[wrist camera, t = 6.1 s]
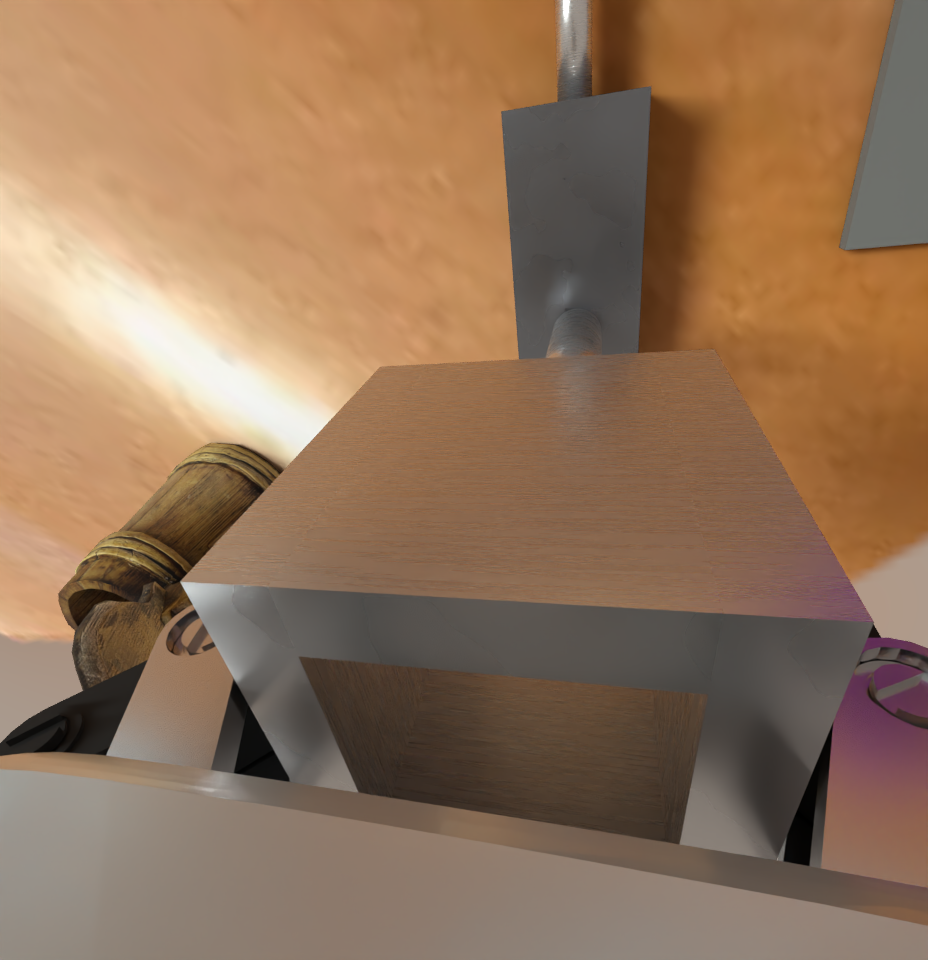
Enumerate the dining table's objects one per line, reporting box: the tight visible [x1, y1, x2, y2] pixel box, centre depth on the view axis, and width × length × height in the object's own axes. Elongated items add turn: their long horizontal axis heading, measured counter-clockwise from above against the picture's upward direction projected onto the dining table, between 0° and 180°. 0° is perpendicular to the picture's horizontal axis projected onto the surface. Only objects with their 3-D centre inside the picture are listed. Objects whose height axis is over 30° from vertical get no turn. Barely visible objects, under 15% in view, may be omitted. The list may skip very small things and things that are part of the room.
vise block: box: [501, 0, 651, 359], centre depth 18 cm, size 21×5×12 cm, turn 8°
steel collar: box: [180, 349, 874, 860], centre depth 9 cm, size 6×6×6 cm
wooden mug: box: [59, 443, 280, 691], centre depth 26 cm, size 9×14×18 cm, turn 116°
